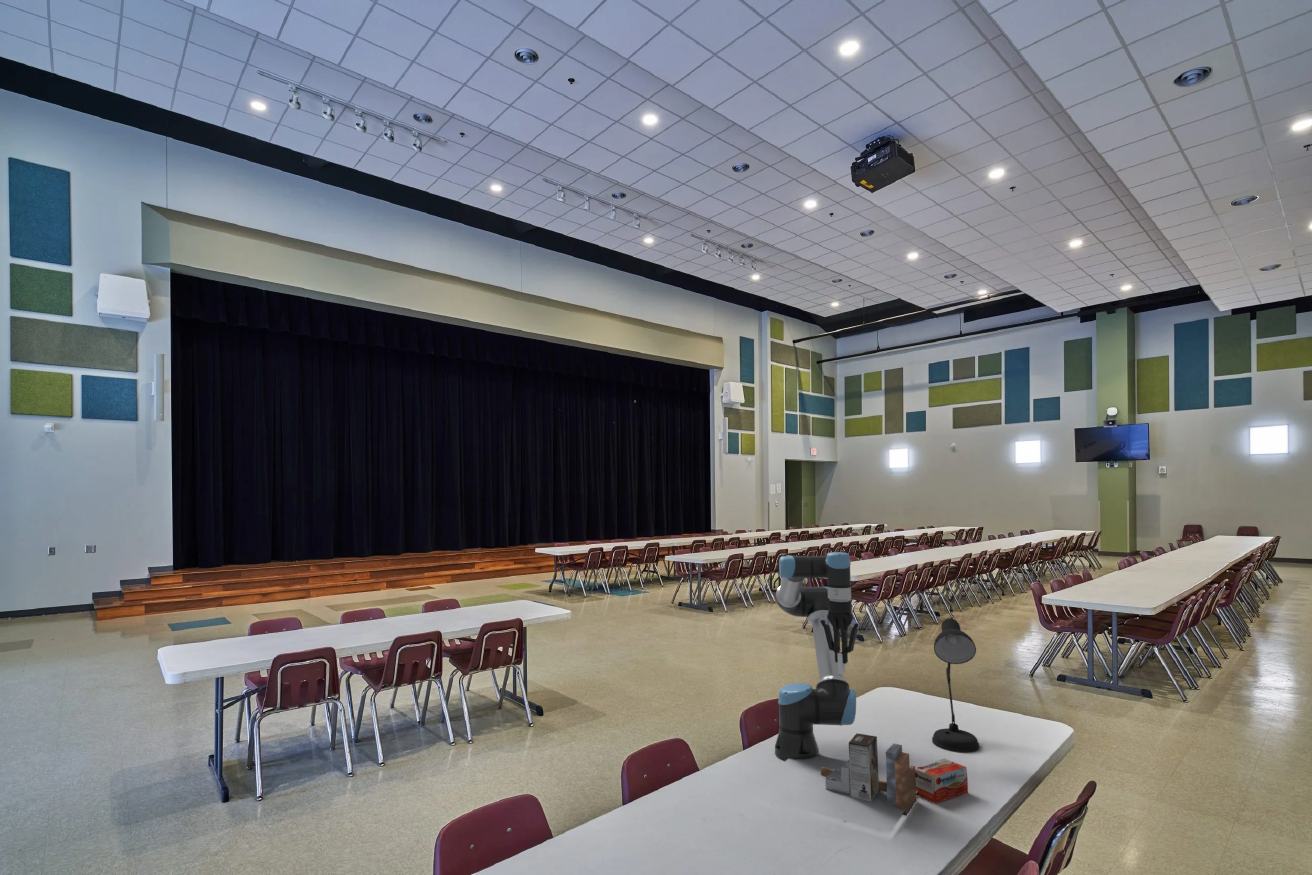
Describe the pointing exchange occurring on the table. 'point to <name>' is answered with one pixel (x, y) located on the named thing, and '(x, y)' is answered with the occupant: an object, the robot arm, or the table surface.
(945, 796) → the medicine box
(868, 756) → the coffee box
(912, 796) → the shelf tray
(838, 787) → the grey stepped block
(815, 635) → the robot arm
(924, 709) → the table surface
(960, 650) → the desk lamp
